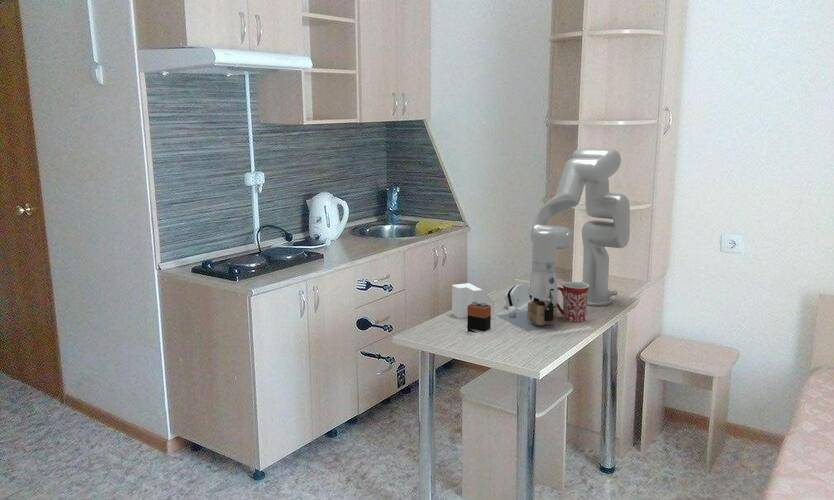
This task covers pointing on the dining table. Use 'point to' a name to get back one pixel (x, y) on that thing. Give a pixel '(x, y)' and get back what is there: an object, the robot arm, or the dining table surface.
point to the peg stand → (523, 320)
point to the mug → (574, 301)
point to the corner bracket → (468, 299)
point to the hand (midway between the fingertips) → (542, 317)
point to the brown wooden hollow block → (539, 312)
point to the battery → (479, 317)
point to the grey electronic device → (518, 297)
